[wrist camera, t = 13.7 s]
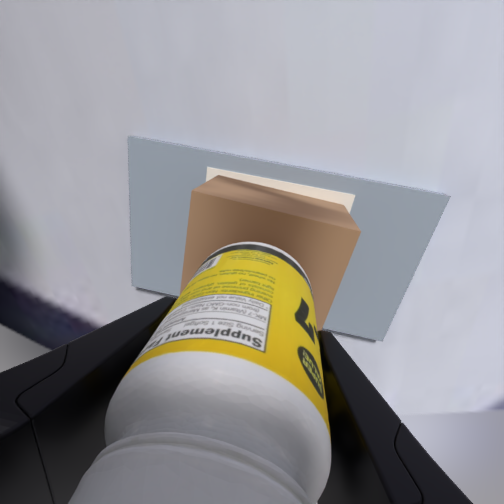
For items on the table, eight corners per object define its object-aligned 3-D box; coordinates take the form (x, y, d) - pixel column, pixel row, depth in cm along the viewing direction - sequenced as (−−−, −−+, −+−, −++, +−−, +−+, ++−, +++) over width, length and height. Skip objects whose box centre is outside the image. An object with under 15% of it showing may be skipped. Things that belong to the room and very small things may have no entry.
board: (136, 281, 18) (131, 286, 18) (133, 136, 15) (127, 136, 14) (379, 334, 17) (382, 342, 17) (444, 193, 14) (451, 196, 13)
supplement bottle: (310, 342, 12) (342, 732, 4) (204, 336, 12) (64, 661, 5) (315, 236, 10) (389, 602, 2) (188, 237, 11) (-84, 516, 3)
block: (201, 281, 17) (176, 323, 13) (218, 174, 14) (191, 190, 10) (306, 308, 17) (310, 359, 13) (343, 205, 14) (361, 231, 10)
